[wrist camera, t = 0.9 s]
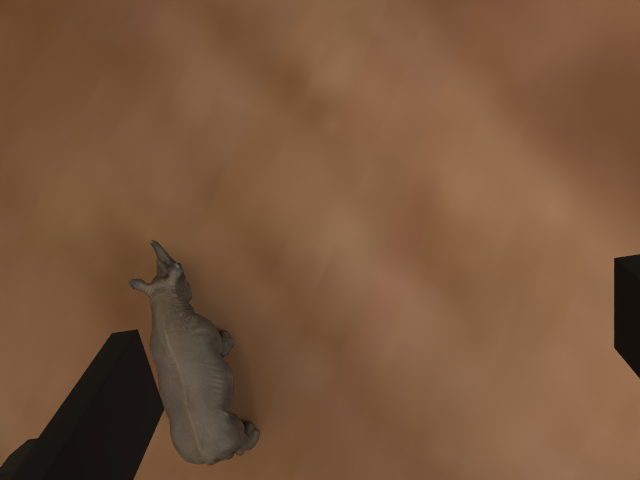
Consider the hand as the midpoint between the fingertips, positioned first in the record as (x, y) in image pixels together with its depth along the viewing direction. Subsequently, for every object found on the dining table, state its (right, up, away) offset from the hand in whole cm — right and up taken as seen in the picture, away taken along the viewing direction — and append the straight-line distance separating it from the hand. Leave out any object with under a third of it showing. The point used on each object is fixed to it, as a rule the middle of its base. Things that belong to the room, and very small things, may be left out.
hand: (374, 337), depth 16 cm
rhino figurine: (-9, -4, +21) cm, 23 cm away
